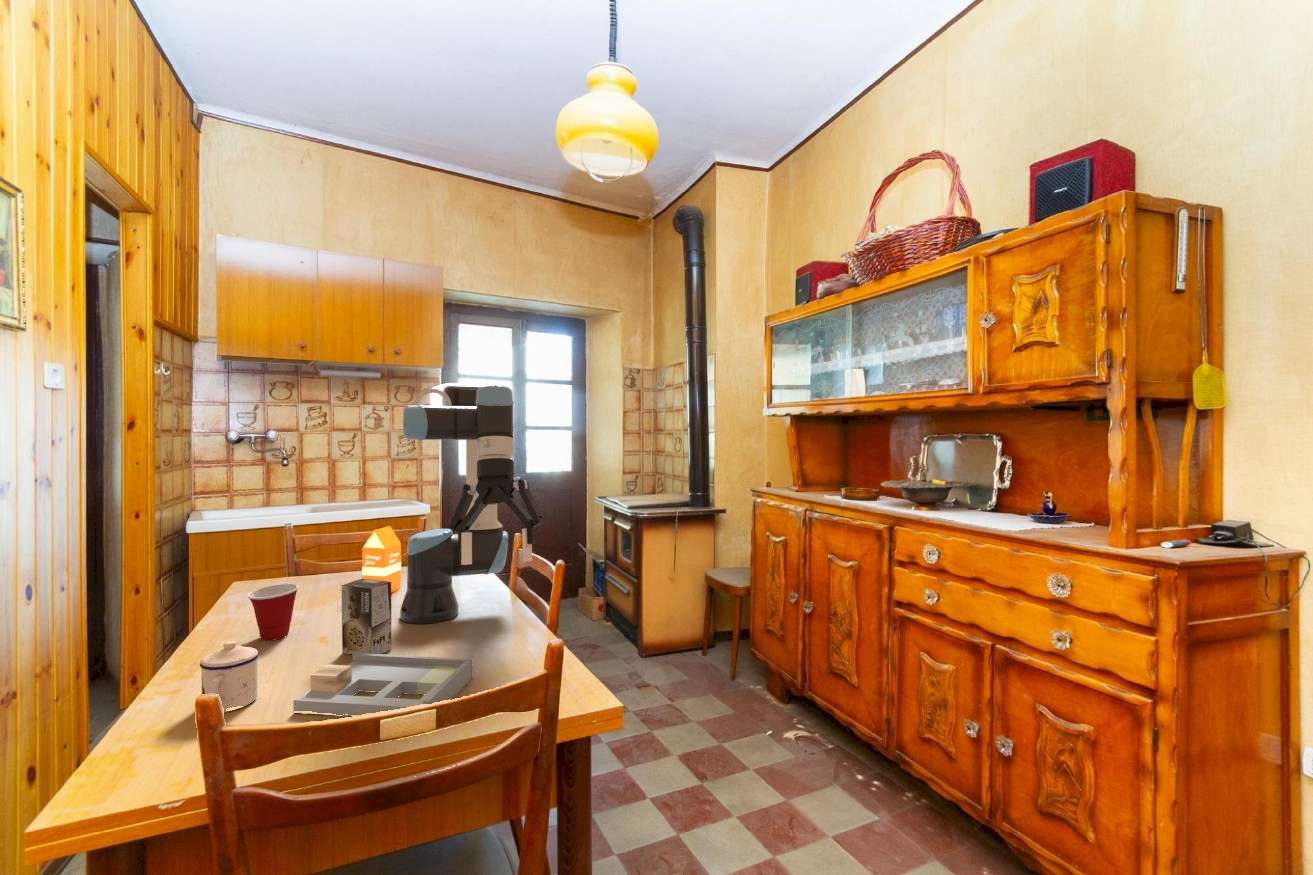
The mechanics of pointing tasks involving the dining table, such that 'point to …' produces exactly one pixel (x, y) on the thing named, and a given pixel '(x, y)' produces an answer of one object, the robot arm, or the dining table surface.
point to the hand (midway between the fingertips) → (496, 563)
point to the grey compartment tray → (390, 684)
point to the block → (331, 678)
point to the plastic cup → (273, 609)
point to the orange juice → (382, 557)
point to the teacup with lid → (231, 674)
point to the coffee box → (366, 617)
